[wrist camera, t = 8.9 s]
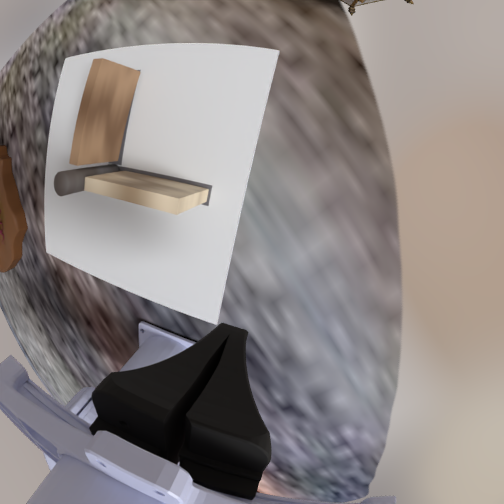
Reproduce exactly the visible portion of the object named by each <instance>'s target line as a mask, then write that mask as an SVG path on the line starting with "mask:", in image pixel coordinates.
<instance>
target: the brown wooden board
mask: <svg viewBox="0 0 504 504" xmlns="http://www.w3.org/2000/svg"><path fill="white" fill-rule="evenodd" d="M140 73H141V72H140V71H138V70H135V69H132V68H130V67H127V66H124V65H121V64H118V63H116V62H113V61H110V60H107V59H104V58H99V59H93V62H92V65H91V68H90V71H89V75H88V78H87V81H86V85H85V88H84V92H83V96H82V100H81V104H80V108H79V112H78V116H77V121H76V126H75V131H74V136H73V142H72V148H71V154H70V161H69V164H73V165H76V166H79V165H87V164H95V163H104V162H114V161H118V159H119V153H120V149H121V144H122V139H123V135H124V130H125V126H126V122H127V118H128V114H129V110H130V106H131V103H132V99H133V95H134V92H135V89H136V85H137V82H138V79H139V76H140Z"/></svg>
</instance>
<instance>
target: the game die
mask: <svg viewBox="0 0 504 504" xmlns="http://www.w3.org/2000/svg"><path fill="white" fill-rule="evenodd" d="M340 1H342V2H344V3H346V4H348V5H349V6H350V7H349V8H348V9H349V10H348V11H349V12H350V14H351V15H352V14H353V13H355V8H354V7H355V6H359V5H364V4H368V3H372V2H377V1H383V0H340ZM405 1H407V3H411V4H413V2H412V0H405Z"/></svg>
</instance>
